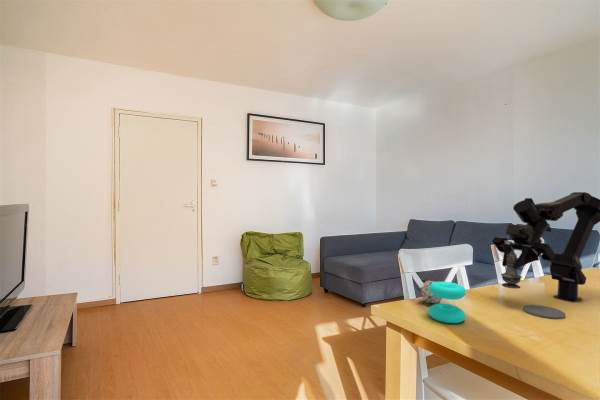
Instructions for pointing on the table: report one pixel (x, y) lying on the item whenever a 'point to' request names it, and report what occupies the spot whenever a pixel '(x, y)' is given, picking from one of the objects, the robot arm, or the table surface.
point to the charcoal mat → (544, 311)
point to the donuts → (447, 311)
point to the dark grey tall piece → (511, 272)
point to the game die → (428, 293)
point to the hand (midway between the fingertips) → (508, 266)
